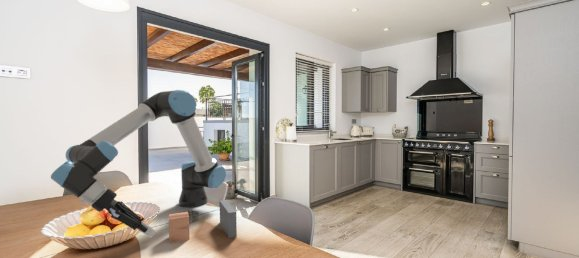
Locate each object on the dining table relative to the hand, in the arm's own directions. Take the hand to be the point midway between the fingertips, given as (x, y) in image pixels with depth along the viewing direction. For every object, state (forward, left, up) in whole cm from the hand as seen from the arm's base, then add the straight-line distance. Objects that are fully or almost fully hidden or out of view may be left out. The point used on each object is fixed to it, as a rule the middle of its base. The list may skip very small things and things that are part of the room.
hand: (153, 234), depth 103 cm
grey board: (0, +28, -3) cm, 28 cm away
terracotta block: (0, +9, -3) cm, 9 cm away
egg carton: (-19, +13, -4) cm, 23 cm away
